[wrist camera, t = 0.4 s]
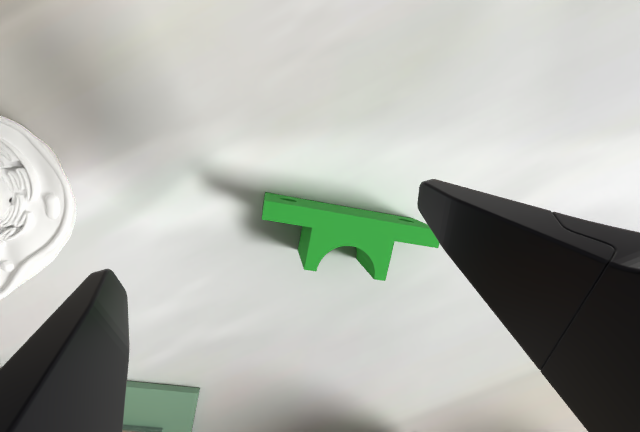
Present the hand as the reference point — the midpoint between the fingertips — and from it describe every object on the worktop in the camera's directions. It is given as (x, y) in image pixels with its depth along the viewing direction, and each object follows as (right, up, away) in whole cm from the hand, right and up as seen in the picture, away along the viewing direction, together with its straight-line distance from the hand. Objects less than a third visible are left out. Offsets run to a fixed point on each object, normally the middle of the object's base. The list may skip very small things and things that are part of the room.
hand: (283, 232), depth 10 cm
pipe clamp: (+2, 0, +15) cm, 15 cm away
